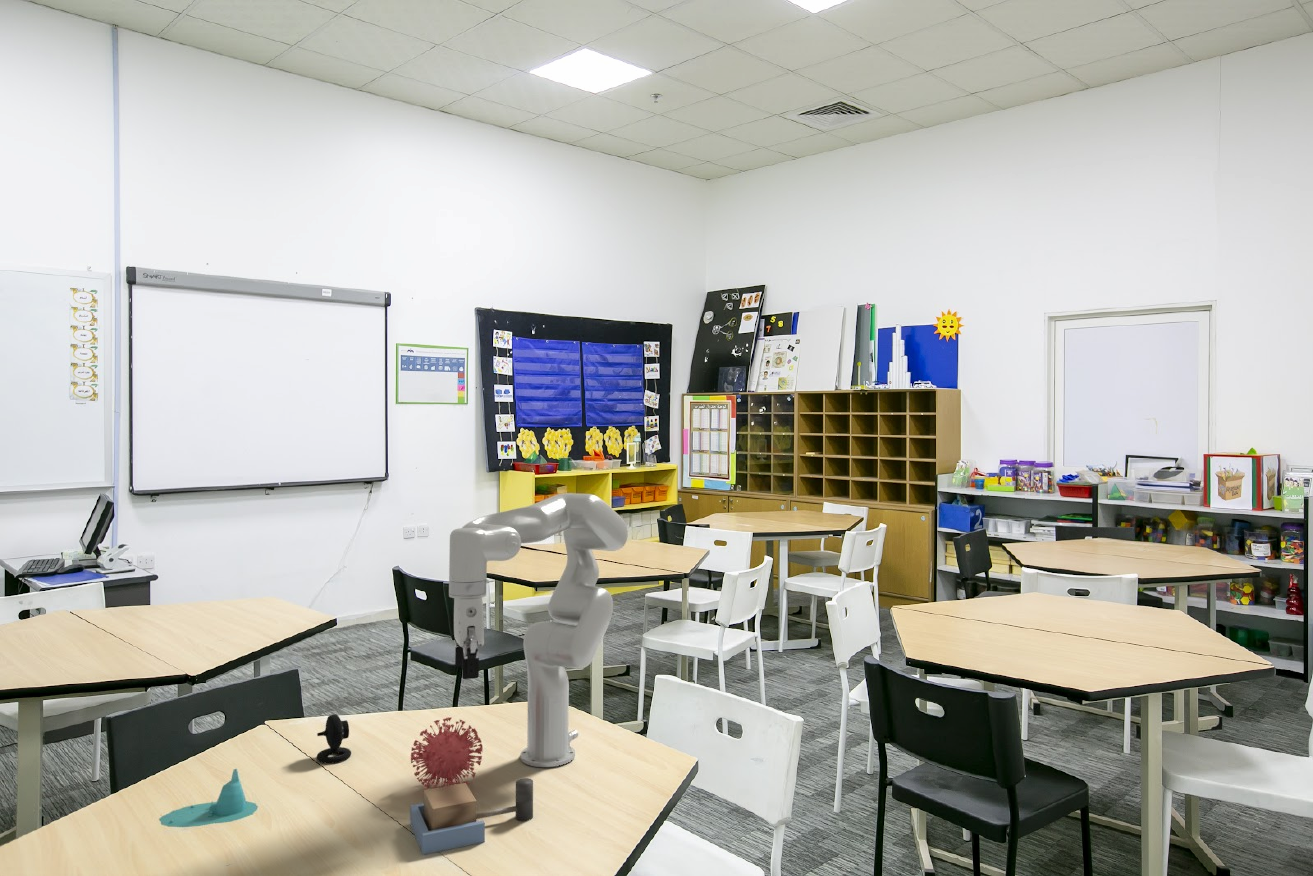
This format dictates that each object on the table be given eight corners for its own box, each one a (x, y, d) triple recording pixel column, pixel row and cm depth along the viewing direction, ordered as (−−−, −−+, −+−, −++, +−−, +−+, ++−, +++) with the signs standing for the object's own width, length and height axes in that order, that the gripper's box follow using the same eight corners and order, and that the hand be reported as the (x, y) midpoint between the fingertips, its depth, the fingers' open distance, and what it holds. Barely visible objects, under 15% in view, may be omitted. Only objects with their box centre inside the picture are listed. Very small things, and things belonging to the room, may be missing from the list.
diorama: (161, 808, 170) (161, 765, 170) (269, 797, 175) (269, 755, 175) (142, 835, 158) (142, 789, 158) (258, 822, 163) (258, 778, 164)
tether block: (432, 847, 154) (433, 809, 153) (423, 826, 162) (423, 790, 162) (539, 825, 162) (539, 788, 162) (525, 806, 170) (526, 772, 170)
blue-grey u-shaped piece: (422, 854, 151) (422, 835, 151) (410, 823, 163) (410, 805, 163) (484, 842, 155) (484, 823, 155) (467, 812, 168) (468, 795, 168)
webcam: (354, 760, 194) (355, 716, 194) (321, 767, 190) (321, 722, 190) (346, 749, 201) (346, 707, 201) (313, 756, 197) (313, 713, 197)
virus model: (495, 780, 183) (495, 712, 183) (457, 809, 169) (457, 735, 169) (436, 771, 188) (437, 705, 188) (395, 798, 174) (396, 726, 174)
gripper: (493, 594, 166) (492, 681, 166) (479, 581, 182) (478, 660, 182) (455, 597, 163) (453, 685, 163) (443, 582, 179) (442, 663, 179)
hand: (466, 672), depth 172 cm, fingers open, 9 cm apart
